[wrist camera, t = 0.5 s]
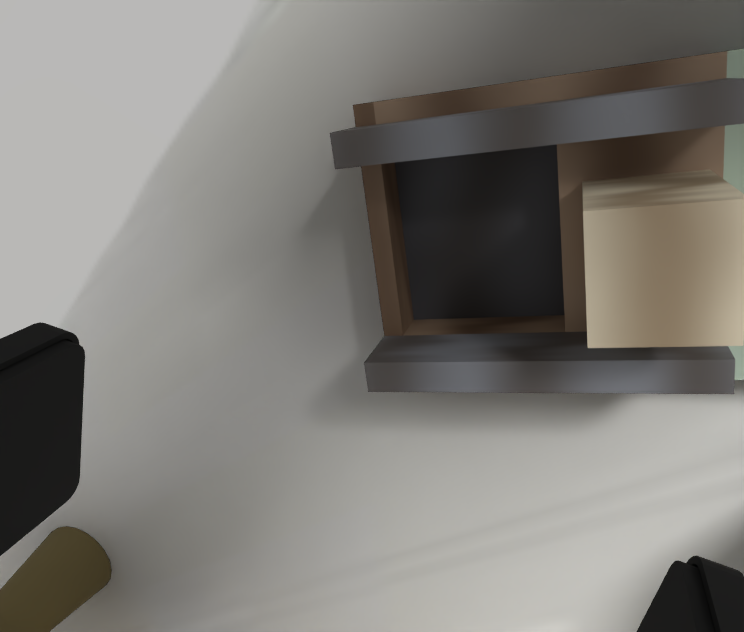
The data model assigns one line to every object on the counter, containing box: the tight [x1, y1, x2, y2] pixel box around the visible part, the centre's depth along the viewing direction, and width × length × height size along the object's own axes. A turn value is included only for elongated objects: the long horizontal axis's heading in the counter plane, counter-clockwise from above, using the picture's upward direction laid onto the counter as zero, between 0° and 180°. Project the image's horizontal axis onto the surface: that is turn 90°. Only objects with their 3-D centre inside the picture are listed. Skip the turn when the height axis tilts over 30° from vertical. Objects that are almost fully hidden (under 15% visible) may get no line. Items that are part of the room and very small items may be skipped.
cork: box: [0, 526, 111, 632], centre depth 46 cm, size 6×6×11 cm
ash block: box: [582, 170, 744, 348], centre depth 25 cm, size 5×5×7 cm
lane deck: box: [330, 49, 744, 394], centre depth 28 cm, size 23×14×6 cm, turn 98°
